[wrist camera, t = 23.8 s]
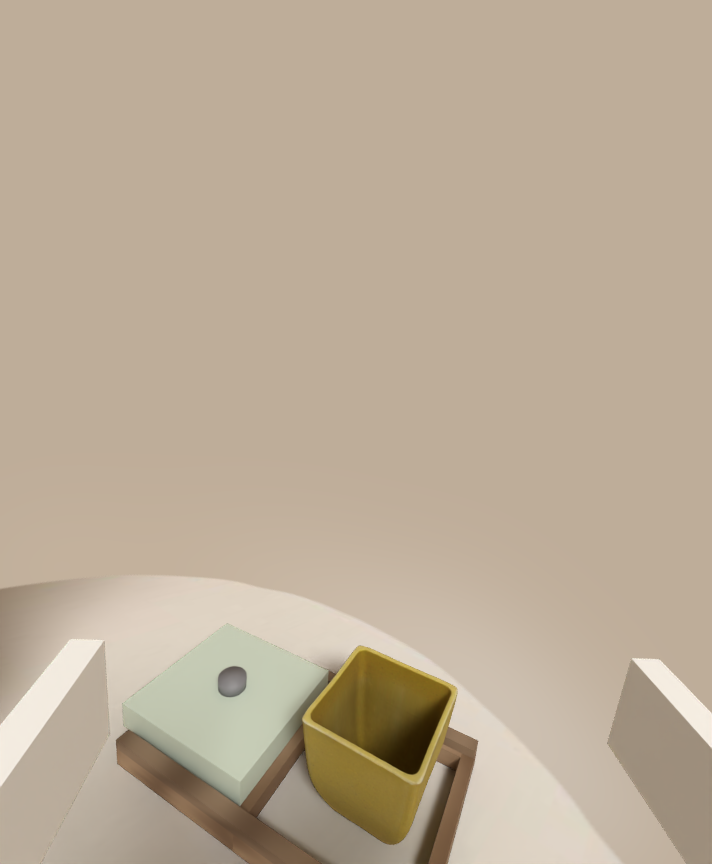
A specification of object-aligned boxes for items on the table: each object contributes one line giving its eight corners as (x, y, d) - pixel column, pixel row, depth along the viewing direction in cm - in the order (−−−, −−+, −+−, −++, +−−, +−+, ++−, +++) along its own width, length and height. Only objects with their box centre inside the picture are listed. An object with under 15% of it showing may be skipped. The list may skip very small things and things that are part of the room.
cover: (123, 725, 36) (121, 693, 36) (226, 641, 47) (227, 614, 46) (239, 806, 31) (240, 770, 30) (327, 690, 41) (329, 661, 41)
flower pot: (404, 897, 28) (419, 785, 26) (293, 819, 32) (298, 717, 30) (445, 780, 36) (459, 686, 34) (351, 728, 39) (359, 642, 37)
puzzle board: (117, 763, 35) (116, 740, 34) (245, 650, 48) (245, 631, 47) (414, 988, 24) (418, 959, 23) (474, 762, 37) (478, 740, 37)
